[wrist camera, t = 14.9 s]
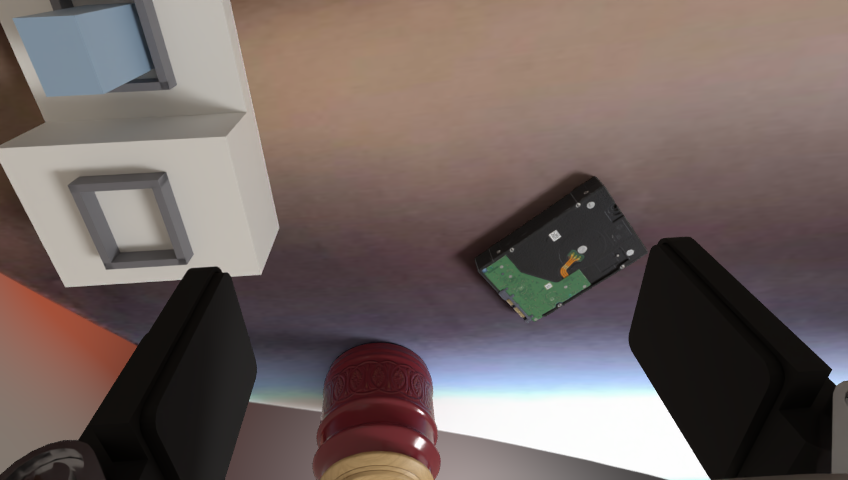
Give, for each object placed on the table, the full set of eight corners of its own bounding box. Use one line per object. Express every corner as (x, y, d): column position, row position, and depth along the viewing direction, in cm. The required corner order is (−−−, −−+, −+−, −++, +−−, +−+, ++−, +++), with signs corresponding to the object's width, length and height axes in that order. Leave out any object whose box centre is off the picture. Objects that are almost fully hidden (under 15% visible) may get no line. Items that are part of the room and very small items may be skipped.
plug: (86, 4, 34) (12, 18, 28) (136, 2, 35) (74, 15, 28) (109, 69, 37) (46, 96, 30) (156, 67, 37) (103, 94, 30)
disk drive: (591, 171, 47) (471, 257, 51) (603, 183, 45) (475, 272, 49) (638, 238, 51) (524, 313, 55) (651, 252, 49) (531, 329, 53)
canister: (397, 323, 54) (401, 465, 39) (449, 389, 61) (470, 534, 46) (303, 367, 57) (273, 517, 42) (362, 427, 63) (355, 576, 48)
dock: (-13, -53, 34) (-138, -54, 26) (216, -61, 35) (164, -65, 26) (112, 237, 46) (54, 298, 38) (279, 227, 47) (257, 285, 39)
